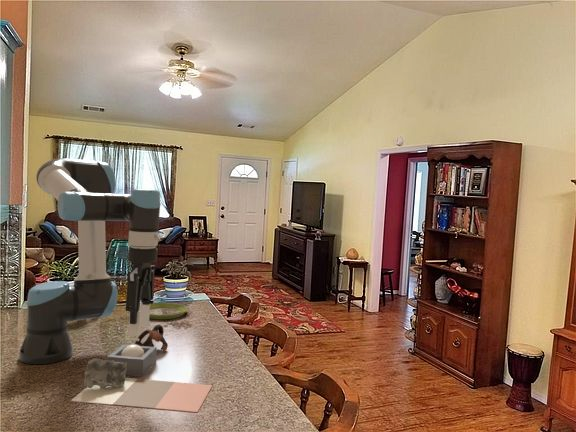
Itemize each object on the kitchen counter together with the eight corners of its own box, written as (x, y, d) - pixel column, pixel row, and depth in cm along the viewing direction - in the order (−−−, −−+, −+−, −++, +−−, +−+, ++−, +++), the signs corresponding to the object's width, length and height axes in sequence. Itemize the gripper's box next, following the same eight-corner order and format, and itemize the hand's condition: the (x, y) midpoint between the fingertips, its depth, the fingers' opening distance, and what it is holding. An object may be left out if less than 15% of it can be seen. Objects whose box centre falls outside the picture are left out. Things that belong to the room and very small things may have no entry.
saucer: (179, 323, 188) (180, 316, 187) (130, 320, 188) (131, 313, 188) (191, 311, 208) (191, 304, 208) (147, 308, 208) (147, 301, 208)
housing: (106, 373, 133) (107, 356, 133) (122, 359, 144) (123, 344, 144) (142, 376, 133) (143, 359, 132) (155, 362, 144) (156, 347, 143)
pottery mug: (164, 359, 150) (147, 345, 146) (144, 365, 154) (127, 352, 150) (175, 330, 159) (160, 316, 155) (157, 337, 163) (141, 323, 159)
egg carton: (80, 387, 120) (83, 378, 118) (87, 364, 126) (89, 355, 124) (121, 392, 124) (125, 383, 122) (125, 369, 130) (129, 360, 128)
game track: (70, 401, 115) (70, 400, 115) (100, 376, 131) (100, 375, 131) (197, 412, 113) (197, 411, 113) (212, 385, 129) (212, 385, 129)
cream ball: (116, 370, 135) (117, 347, 135) (125, 362, 142) (126, 340, 142) (138, 372, 135) (139, 349, 134) (147, 364, 142) (148, 342, 141)
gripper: (143, 252, 111) (138, 344, 112) (168, 243, 129) (164, 322, 131) (113, 250, 111) (109, 341, 112) (143, 241, 130) (139, 320, 131)
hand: (138, 331), depth 122 cm, fingers open, 6 cm apart
